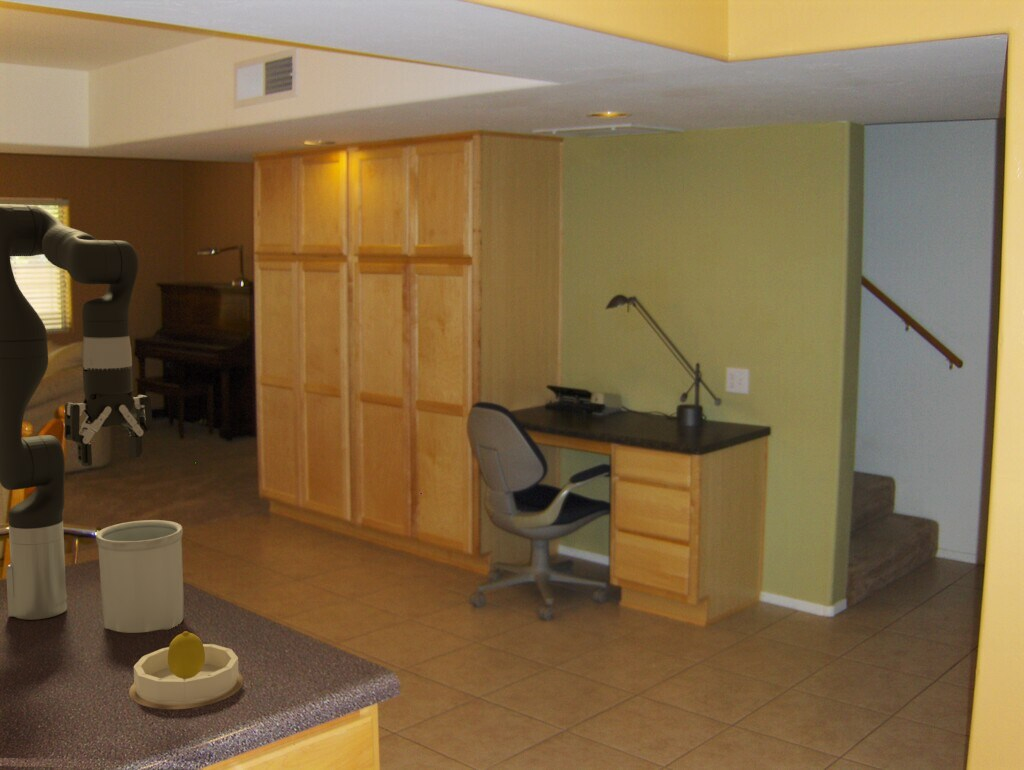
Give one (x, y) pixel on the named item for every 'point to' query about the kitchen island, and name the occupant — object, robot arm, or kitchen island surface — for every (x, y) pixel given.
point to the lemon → (186, 655)
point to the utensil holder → (141, 575)
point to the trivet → (134, 697)
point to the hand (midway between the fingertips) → (110, 461)
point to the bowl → (173, 691)
